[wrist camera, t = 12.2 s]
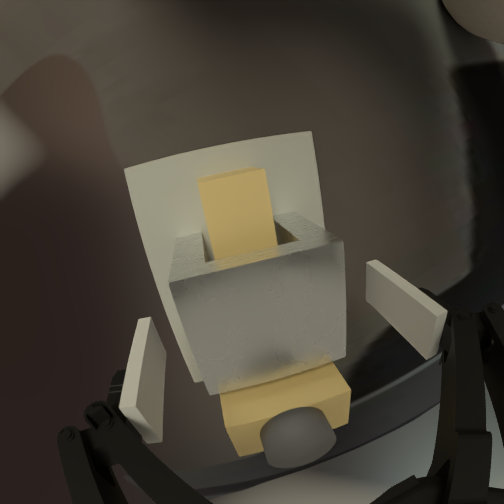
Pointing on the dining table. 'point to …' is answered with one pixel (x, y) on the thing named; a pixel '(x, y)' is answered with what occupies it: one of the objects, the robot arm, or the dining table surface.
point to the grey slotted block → (262, 305)
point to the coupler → (283, 389)
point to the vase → (479, 17)
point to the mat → (190, 206)
